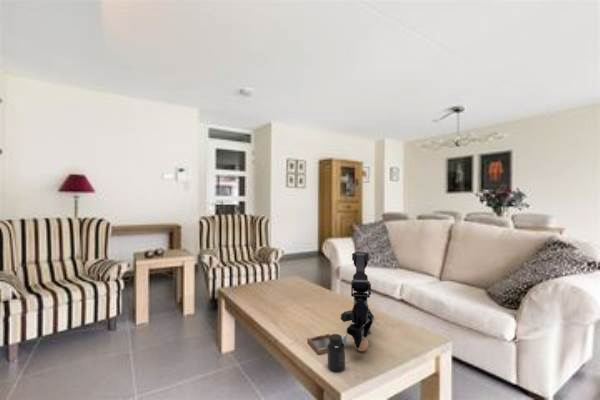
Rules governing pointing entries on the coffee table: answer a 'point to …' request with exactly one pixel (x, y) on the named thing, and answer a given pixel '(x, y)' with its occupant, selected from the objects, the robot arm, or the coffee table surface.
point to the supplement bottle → (336, 353)
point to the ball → (363, 345)
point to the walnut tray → (319, 343)
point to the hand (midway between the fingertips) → (361, 342)
